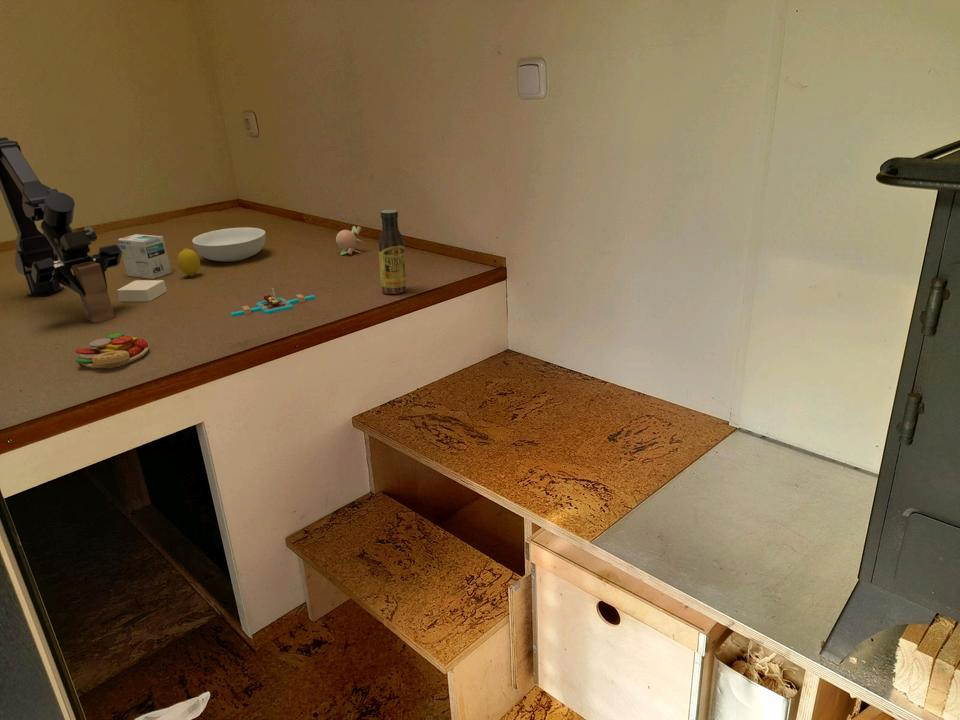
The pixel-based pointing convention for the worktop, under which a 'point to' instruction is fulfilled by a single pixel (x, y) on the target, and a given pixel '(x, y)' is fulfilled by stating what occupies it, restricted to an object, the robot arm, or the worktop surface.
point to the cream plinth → (142, 290)
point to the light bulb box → (144, 256)
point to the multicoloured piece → (273, 304)
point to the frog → (348, 240)
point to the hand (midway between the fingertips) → (95, 292)
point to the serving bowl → (230, 243)
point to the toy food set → (112, 351)
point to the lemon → (188, 262)
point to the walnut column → (93, 291)
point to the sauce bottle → (391, 254)
